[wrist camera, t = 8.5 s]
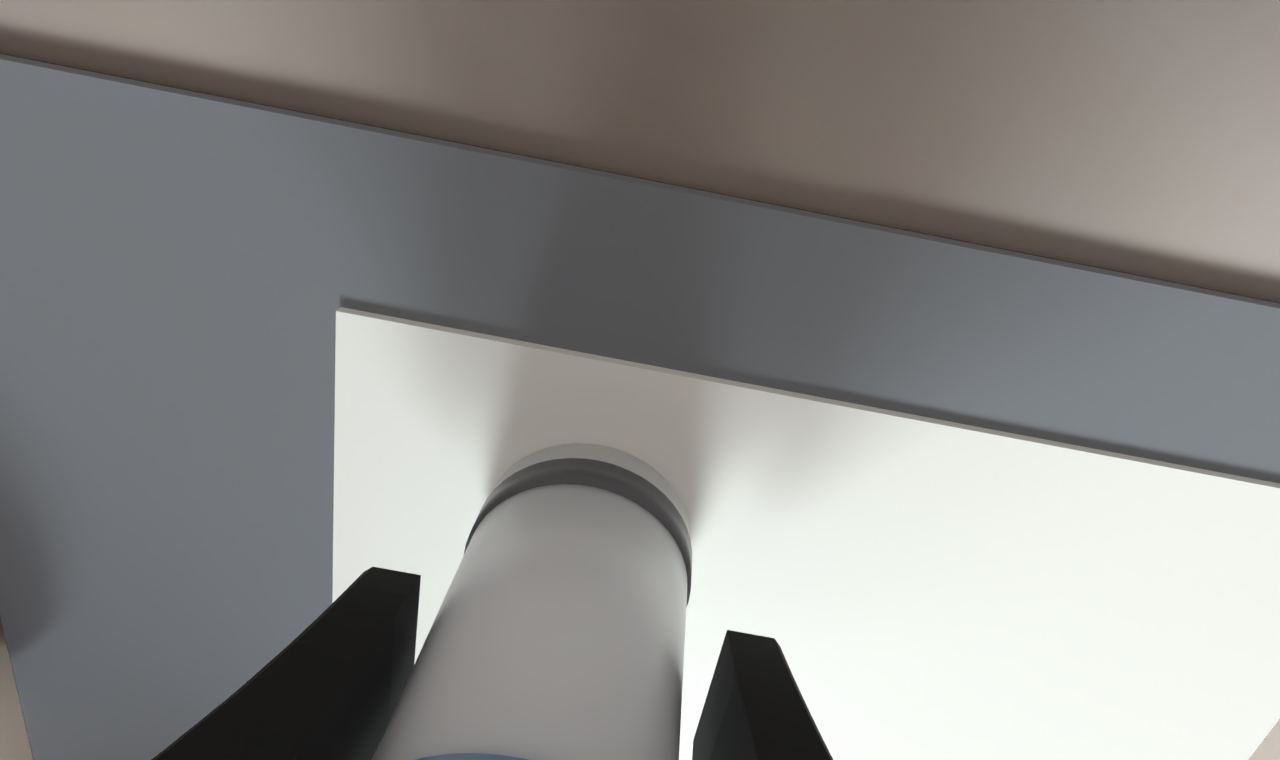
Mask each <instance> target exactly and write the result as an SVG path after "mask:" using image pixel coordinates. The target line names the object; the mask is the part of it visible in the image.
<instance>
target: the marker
mask: <svg viewBox="0 0 1280 760" xmlns="http://www.w3.org/2000/svg"><path fill="white" fill-rule="evenodd" d="M691 575H692V546H691V539H690V529H689V522H688V517H687V514H686V511H685V508H684V506H683V504H682V502H681V500H680V498H679V496H678V495H677V493H676V492H675V490H674V489H673V487H672V486H671V485H670V484H669V483H668V481H667V480H666V479H665V478H664V477H663V476H662V475H661V474H659V473H658V472H657V471H656V470H655V469H654V468H652V467H651V466H649V465H648V464H646V463H645V462H643V461H642V460H640V459H638V458H636V457H634V456H632V455H630V454H628V453H625V452H623V451H620V450H617V449H614V448H610V447H606V446H601V445H594V444H577V443H575V444H563V445H558V446H553V447H548V448H545V449H542V450H539V451H537V452H534V453H532V454H530V455H528V456H526V457H524V458H523V459H521V460H520V461H519V462H517V463H516V464H514V465H513V466H512V467H511V468H510V469H509V470H508V471H507V472H506V473H505V474H504V475H503V476H502V477H501V479H500V480H499V481H498V483H497V485H496V486H495V488H494V490H493V491H492V493H491V494H490V495H489V496H488V498H487V499H486V501H485V503H484V504H483V506H482V508H481V510H480V512H479V514H478V517H477V519H476V521H475V523H474V525H473V527H472V530H471V532H470V534H469V537H468V540H467V542H466V546H465V551H464V556H463V558H462V560H461V563H460V565H459V567H458V569H457V571H456V574H455V576H454V578H453V580H452V583H451V585H450V587H449V589H448V591H447V594H446V596H445V598H444V600H443V602H442V605H441V607H440V609H439V611H438V614H437V616H436V618H435V620H434V622H433V625H432V627H431V629H430V631H429V634H428V636H427V638H426V640H425V642H424V645H423V647H422V649H421V651H420V653H419V656H418V658H417V660H416V662H415V665H414V667H413V669H412V671H411V673H410V676H409V678H408V680H407V682H406V684H405V687H404V689H403V691H402V693H401V696H400V698H399V700H398V702H397V704H396V707H395V709H394V711H393V713H392V716H391V718H390V720H389V722H388V724H387V727H386V729H385V731H384V733H383V735H382V738H381V740H380V742H379V744H378V747H377V749H376V751H375V753H374V755H373V758H372V760H679V746H680V726H681V706H682V686H683V666H684V646H685V626H686V607H687V605H688V602H689V597H690V592H691Z"/></svg>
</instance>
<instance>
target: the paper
mask: <svg viewBox="0 0 1280 760" xmlns="http://www.w3.org/2000/svg"><path fill="white" fill-rule="evenodd" d="M575 443H577V444H594V445H601V446H606V447H610V448H614V449H617V450H620V451H623V452H625V453H628V454H630V455H632V456H634V457H636V458H638V459H640V460H642V461H643V462H645V463H646V464H648V465H649V466H651V467H652V468H654V469H655V470H656V471H657V472H658V473H659V474H661V475H662V476H663V477H664V478H665V479H666V480H667V481H668V483H669V484H670V485H671V486H672V487H673V489H674V490H675V492H676V493H677V495H678V496H679V498H680V500H681V502H682V504H683V506H684V508H685V511H686V514H687V517H688V522H689V529H690V539H691V546H692V575H691V592H690V597H689V602H688V605H687V607H686V626H685V646H684V666H683V686H682V706H681V726H680V746H679V760H692V753H693V740H694V736H695V733H696V730H697V727H698V723H699V720H700V717H701V714H702V710H703V707H704V704H705V700H706V697H707V694H708V691H709V687H710V684H711V681H712V678H713V674H714V671H715V668H716V664H717V661H718V658H719V655H720V651H721V648H722V645H723V641H724V638H725V635H726V632H727V630H731V631H737V632H742V633H748V634H753V635H759V636H765V637H770V638H775V640H776V641H777V643H778V644H779V646H780V647H781V649H782V652H783V654H784V656H785V659H786V661H787V663H788V666H789V668H790V670H791V672H792V675H793V677H794V679H795V681H796V684H797V686H798V688H799V690H800V692H801V694H802V697H803V699H804V701H805V703H806V705H807V707H808V709H809V711H810V714H811V716H812V718H813V720H814V722H815V724H816V726H817V728H818V730H819V732H820V734H821V736H822V738H823V740H824V742H825V744H826V746H827V748H828V750H829V752H830V754H831V756H832V758H833V760H1248V759H1249V758H1250V756H1251V755H1252V754H1253V753H1254V751H1255V750H1256V749H1257V747H1258V746H1259V745H1260V743H1261V742H1262V741H1263V739H1264V738H1265V737H1266V736H1267V734H1268V733H1269V732H1270V730H1271V729H1272V728H1273V726H1274V725H1275V724H1276V723H1277V721H1278V720H1279V719H1280V483H1274V482H1269V481H1264V480H1258V479H1253V478H1248V477H1242V476H1237V475H1232V474H1226V473H1221V472H1216V471H1210V470H1205V469H1200V468H1194V467H1189V466H1184V465H1178V464H1173V463H1168V462H1163V461H1157V460H1152V459H1147V458H1141V457H1136V456H1131V455H1125V454H1120V453H1115V452H1109V451H1104V450H1099V449H1093V448H1088V447H1083V446H1077V445H1072V444H1067V443H1061V442H1056V441H1051V440H1046V439H1040V438H1035V437H1030V436H1024V435H1019V434H1014V433H1008V432H1003V431H998V430H992V429H987V428H982V427H976V426H971V425H966V424H960V423H955V422H950V421H945V420H939V419H934V418H929V417H923V416H918V415H913V414H907V413H902V412H897V411H891V410H886V409H881V408H875V407H870V406H865V405H859V404H854V403H849V402H843V401H838V400H833V399H828V398H822V397H817V396H812V395H806V394H801V393H796V392H790V391H785V390H780V389H774V388H769V387H764V386H758V385H753V384H748V383H742V382H737V381H732V380H727V379H721V378H716V377H711V376H705V375H700V374H695V373H689V372H684V371H679V370H673V369H668V368H663V367H657V366H652V365H647V364H641V363H636V362H631V361H625V360H620V359H615V358H610V357H604V356H599V355H594V354H588V353H583V352H578V351H572V350H567V349H562V348H556V347H551V346H546V345H540V344H535V343H530V342H524V341H519V340H514V339H508V338H503V337H498V336H493V335H487V334H482V333H477V332H471V331H466V330H461V329H455V328H450V327H445V326H439V325H434V324H429V323H423V322H418V321H413V320H407V319H402V318H397V317H392V316H386V315H381V314H376V313H370V312H365V311H360V310H354V309H349V308H344V307H340V308H339V309H338V310H336V341H335V424H334V508H333V591H332V603H333V602H334V601H335V600H336V599H337V598H338V597H339V596H340V595H341V594H342V593H343V592H344V591H345V590H346V589H347V588H348V587H349V586H350V585H351V584H352V583H353V582H354V581H355V580H356V579H357V578H358V577H359V576H360V575H361V574H362V573H363V572H364V571H366V570H368V569H369V568H371V567H378V568H384V569H389V570H395V571H400V572H406V573H412V574H417V575H421V581H420V594H419V607H418V621H417V634H416V647H415V661H414V665H415V662H416V660H417V658H418V656H419V653H420V651H421V649H422V647H423V645H424V642H425V640H426V638H427V636H428V634H429V631H430V629H431V627H432V625H433V622H434V620H435V618H436V616H437V614H438V611H439V609H440V607H441V605H442V602H443V600H444V598H445V596H446V594H447V591H448V589H449V587H450V585H451V583H452V580H453V578H454V576H455V574H456V571H457V569H458V567H459V565H460V563H461V560H462V558H463V556H464V551H465V546H466V542H467V540H468V537H469V534H470V532H471V530H472V527H473V525H474V523H475V521H476V519H477V517H478V514H479V512H480V510H481V508H482V506H483V504H484V503H485V501H486V499H487V498H488V496H489V495H490V494H491V493H492V491H493V490H494V488H495V486H496V485H497V483H498V481H499V480H500V479H501V477H502V476H503V475H504V474H505V473H506V472H507V471H508V470H509V469H510V468H511V467H512V466H513V465H514V464H516V463H517V462H519V461H520V460H521V459H523V458H524V457H526V456H528V455H530V454H532V453H534V452H537V451H539V450H542V449H545V448H548V447H553V446H558V445H563V444H575Z"/></svg>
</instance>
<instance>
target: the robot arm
mask: <svg viewBox="0 0 1280 760" xmlns="http://www.w3.org/2000/svg"><path fill="white" fill-rule="evenodd" d="M420 581H421V575H417V574H412V573H406V572H400V571H395V570H389V569H384V568H378V567H371V568H369V569H368V570H366V571H364V572H363V573H362V574H361V575H360V576H359V577H358V578H357V579H356V580H355V581H354V582H353V583H352V584H351V585H350V586H349V587H348V588H347V589H346V590H345V591H344V592H343V593H342V594H341V595H340V596H339V597H338V598H337V599H336V600H335V601H334V602H333V603H332V604H331V605H330V606H329V607H328V608H327V609H326V610H325V611H324V612H323V613H322V614H321V615H320V616H319V617H318V618H317V619H316V620H315V621H314V622H312V623H311V624H310V625H309V626H308V627H307V628H306V629H305V630H304V631H303V632H302V633H301V634H300V635H299V636H298V637H296V638H295V639H294V640H293V641H292V642H291V643H290V644H289V645H288V646H287V647H286V648H284V649H283V650H282V651H281V652H280V653H279V654H278V655H277V656H275V657H274V658H273V659H272V660H271V661H270V662H269V663H268V664H266V665H265V666H264V667H263V668H262V669H261V670H260V671H259V672H257V673H256V674H255V675H254V676H253V677H252V678H251V679H249V680H248V681H247V682H246V683H245V684H244V685H243V686H242V687H240V688H239V689H238V690H237V691H236V692H235V693H233V694H232V695H231V696H230V697H229V698H227V699H226V700H225V701H224V702H223V703H221V704H220V705H219V706H218V707H216V708H215V709H214V710H213V711H211V712H210V713H209V714H208V715H207V716H205V717H204V718H203V719H202V720H200V721H199V722H198V723H197V724H195V725H194V726H193V727H192V728H190V729H189V730H188V731H187V732H185V733H184V734H183V735H182V736H180V737H179V738H178V739H177V740H176V741H174V742H173V743H172V744H171V745H169V746H168V747H167V748H166V749H164V750H163V751H162V752H160V753H159V754H158V755H157V756H155V757H154V758H153V759H151V760H372V758H373V755H374V753H375V751H376V749H377V747H378V744H379V742H380V740H381V738H382V735H383V733H384V731H385V729H386V727H387V724H388V722H389V720H390V718H391V716H392V713H393V711H394V709H395V707H396V704H397V702H398V700H399V698H400V696H401V693H402V691H403V689H404V687H405V684H406V682H407V680H408V678H409V676H410V673H411V671H412V669H413V667H414V661H415V647H416V634H417V621H418V607H419V594H420ZM692 760H833V758H832V756H831V754H830V752H829V750H828V748H827V746H826V744H825V742H824V740H823V738H822V736H821V734H820V732H819V730H818V728H817V726H816V724H815V722H814V720H813V718H812V716H811V714H810V711H809V709H808V707H807V705H806V703H805V701H804V699H803V697H802V694H801V692H800V690H799V688H798V686H797V684H796V681H795V679H794V677H793V675H792V672H791V670H790V668H789V666H788V663H787V661H786V659H785V656H784V654H783V652H782V649H781V647H780V646H779V644H778V643H777V641H776V640H775V638H770V637H765V636H759V635H753V634H748V633H742V632H737V631H731V630H727V632H726V635H725V638H724V641H723V645H722V648H721V651H720V655H719V658H718V661H717V664H716V668H715V671H714V674H713V678H712V681H711V684H710V687H709V691H708V694H707V697H706V700H705V704H704V707H703V710H702V714H701V717H700V720H699V723H698V727H697V730H696V733H695V736H694V740H693V753H692Z"/></svg>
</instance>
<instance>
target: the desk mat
mask: <svg viewBox="0 0 1280 760" xmlns="http://www.w3.org/2000/svg"><path fill="white" fill-rule="evenodd" d="M340 307H344V308H349V309H354V310H360V311H365V312H370V313H376V314H381V315H386V316H392V317H397V318H402V319H407V320H413V321H418V322H423V323H429V324H434V325H439V326H445V327H450V328H455V329H461V330H466V331H471V332H477V333H482V334H487V335H493V336H498V337H503V338H508V339H514V340H519V341H524V342H530V343H535V344H540V345H546V346H551V347H556V348H562V349H567V350H572V351H578V352H583V353H588V354H594V355H599V356H604V357H610V358H615V359H620V360H625V361H631V362H636V363H641V364H647V365H652V366H657V367H663V368H668V369H673V370H679V371H684V372H689V373H695V374H700V375H705V376H711V377H716V378H721V379H727V380H732V381H737V382H742V383H748V384H753V385H758V386H764V387H769V388H774V389H780V390H785V391H790V392H796V393H801V394H806V395H812V396H817V397H822V398H828V399H833V400H838V401H843V402H849V403H854V404H859V405H865V406H870V407H875V408H881V409H886V410H891V411H897V412H902V413H907V414H913V415H918V416H923V417H929V418H934V419H939V420H945V421H950V422H955V423H960V424H966V425H971V426H976V427H982V428H987V429H992V430H998V431H1003V432H1008V433H1014V434H1019V435H1024V436H1030V437H1035V438H1040V439H1046V440H1051V441H1056V442H1061V443H1067V444H1072V445H1077V446H1083V447H1088V448H1093V449H1099V450H1104V451H1109V452H1115V453H1120V454H1125V455H1131V456H1136V457H1141V458H1147V459H1152V460H1157V461H1163V462H1168V463H1173V464H1178V465H1184V466H1189V467H1194V468H1200V469H1205V470H1210V471H1216V472H1221V473H1226V474H1232V475H1237V476H1242V477H1248V478H1253V479H1258V480H1264V481H1269V482H1274V483H1280V303H1276V302H1270V301H1265V300H1260V299H1255V298H1250V297H1245V296H1240V295H1235V294H1229V293H1224V292H1219V291H1214V290H1209V289H1204V288H1199V287H1194V286H1188V285H1183V284H1178V283H1173V282H1168V281H1163V280H1158V279H1153V278H1147V277H1142V276H1137V275H1132V274H1127V273H1122V272H1117V271H1111V270H1106V269H1101V268H1096V267H1091V266H1086V265H1081V264H1076V263H1070V262H1065V261H1060V260H1055V259H1050V258H1045V257H1040V256H1035V255H1029V254H1024V253H1019V252H1014V251H1009V250H1004V249H999V248H994V247H988V246H983V245H978V244H973V243H968V242H963V241H958V240H953V239H947V238H942V237H937V236H932V235H927V234H922V233H917V232H912V231H906V230H901V229H896V228H891V227H886V226H881V225H876V224H871V223H865V222H860V221H855V220H850V219H845V218H840V217H835V216H830V215H824V214H819V213H814V212H809V211H804V210H799V209H794V208H789V207H783V206H778V205H773V204H768V203H763V202H758V201H753V200H748V199H742V198H737V197H732V196H727V195H722V194H717V193H712V192H707V191H701V190H696V189H691V188H686V187H681V186H676V185H671V184H666V183H660V182H655V181H650V180H645V179H640V178H635V177H630V176H625V175H619V174H614V173H609V172H604V171H599V170H594V169H589V168H584V167H578V166H573V165H568V164H563V163H558V162H553V161H548V160H543V159H537V158H532V157H527V156H522V155H517V154H512V153H507V152H502V151H496V150H491V149H486V148H481V147H476V146H471V145H466V144H461V143H455V142H450V141H445V140H440V139H435V138H430V137H425V136H420V135H414V134H409V133H404V132H399V131H394V130H389V129H384V128H379V127H373V126H368V125H363V124H358V123H353V122H348V121H343V120H338V119H332V118H327V117H322V116H317V115H312V114H307V113H302V112H297V111H291V110H286V109H281V108H276V107H271V106H266V105H261V104H256V103H250V102H245V101H240V100H235V99H230V98H225V97H220V96H215V95H209V94H204V93H199V92H194V91H189V90H184V89H179V88H174V87H168V86H163V85H158V84H153V83H148V82H143V81H138V80H133V79H127V78H122V77H117V76H112V75H107V74H102V73H97V72H92V71H86V70H81V69H76V68H71V67H66V66H61V65H56V64H51V63H45V62H40V61H35V60H30V59H25V58H20V57H15V56H10V55H4V54H0V618H1V622H2V627H3V631H4V635H5V640H6V644H7V648H8V652H9V657H10V661H11V665H12V670H13V674H14V678H15V683H16V687H17V691H18V696H19V700H20V704H21V708H22V713H23V717H24V721H25V726H26V730H27V734H28V739H29V743H30V747H31V752H32V756H33V760H151V759H153V758H154V757H155V756H157V755H158V754H159V753H160V752H162V751H163V750H164V749H166V748H167V747H168V746H169V745H171V744H172V743H173V742H174V741H176V740H177V739H178V738H179V737H180V736H182V735H183V734H184V733H185V732H187V731H188V730H189V729H190V728H192V727H193V726H194V725H195V724H197V723H198V722H199V721H200V720H202V719H203V718H204V717H205V716H207V715H208V714H209V713H210V712H211V711H213V710H214V709H215V708H216V707H218V706H219V705H220V704H221V703H223V702H224V701H225V700H226V699H227V698H229V697H230V696H231V695H232V694H233V693H235V692H236V691H237V690H238V689H239V688H240V687H242V686H243V685H244V684H245V683H246V682H247V681H248V680H249V679H251V678H252V677H253V676H254V675H255V674H256V673H257V672H259V671H260V670H261V669H262V668H263V667H264V666H265V665H266V664H268V663H269V662H270V661H271V660H272V659H273V658H274V657H275V656H277V655H278V654H279V653H280V652H281V651H282V650H283V649H284V648H286V647H287V646H288V645H289V644H290V643H291V642H292V641H293V640H294V639H295V638H296V637H298V636H299V635H300V634H301V633H302V632H303V631H304V630H305V629H306V628H307V627H308V626H309V625H310V624H311V623H312V622H314V621H315V620H316V619H317V618H318V617H319V616H320V615H321V614H322V613H323V612H324V611H325V610H326V609H327V608H328V607H329V606H330V605H331V604H332V591H333V508H334V424H335V341H336V310H338V309H339V308H340Z"/></svg>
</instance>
